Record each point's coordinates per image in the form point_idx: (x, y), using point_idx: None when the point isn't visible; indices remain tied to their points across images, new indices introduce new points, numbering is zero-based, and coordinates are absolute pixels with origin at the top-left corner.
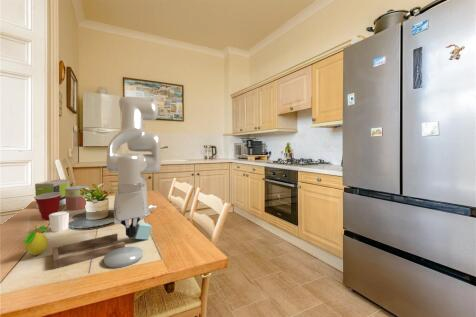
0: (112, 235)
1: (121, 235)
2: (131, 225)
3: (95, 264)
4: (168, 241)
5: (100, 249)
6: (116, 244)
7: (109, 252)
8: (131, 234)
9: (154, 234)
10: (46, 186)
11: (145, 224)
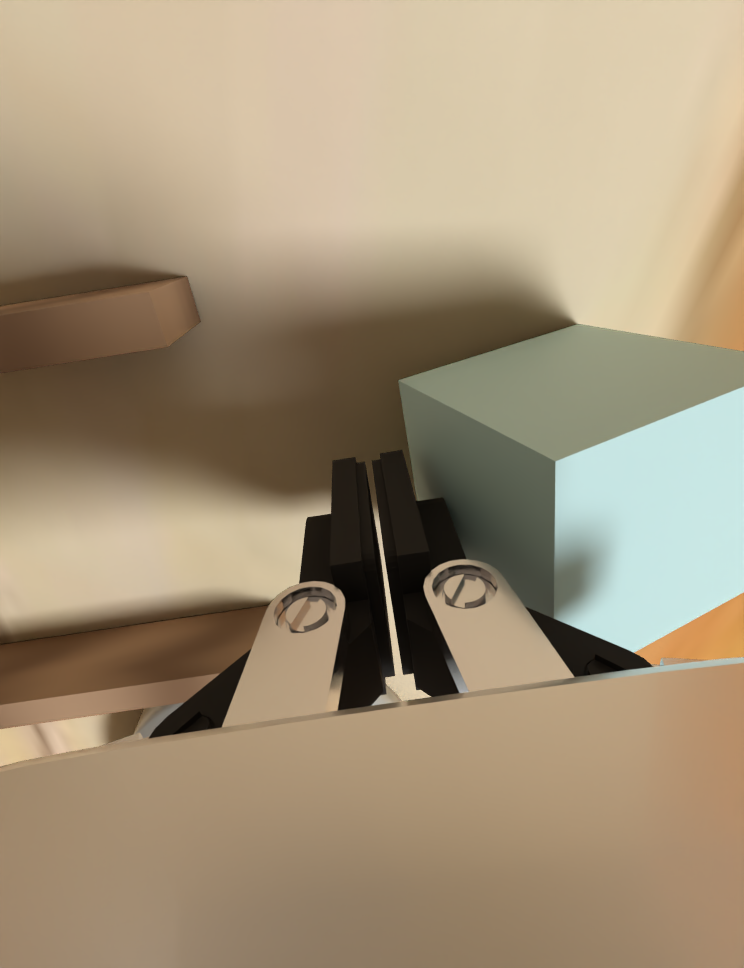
0: (83, 359)
1: (254, 54)
2: (412, 656)
3: (78, 744)
4: (704, 626)
5: (44, 716)
6: (197, 690)
7: (151, 727)
8: (384, 588)
9: None
10: None
11: (700, 528)
